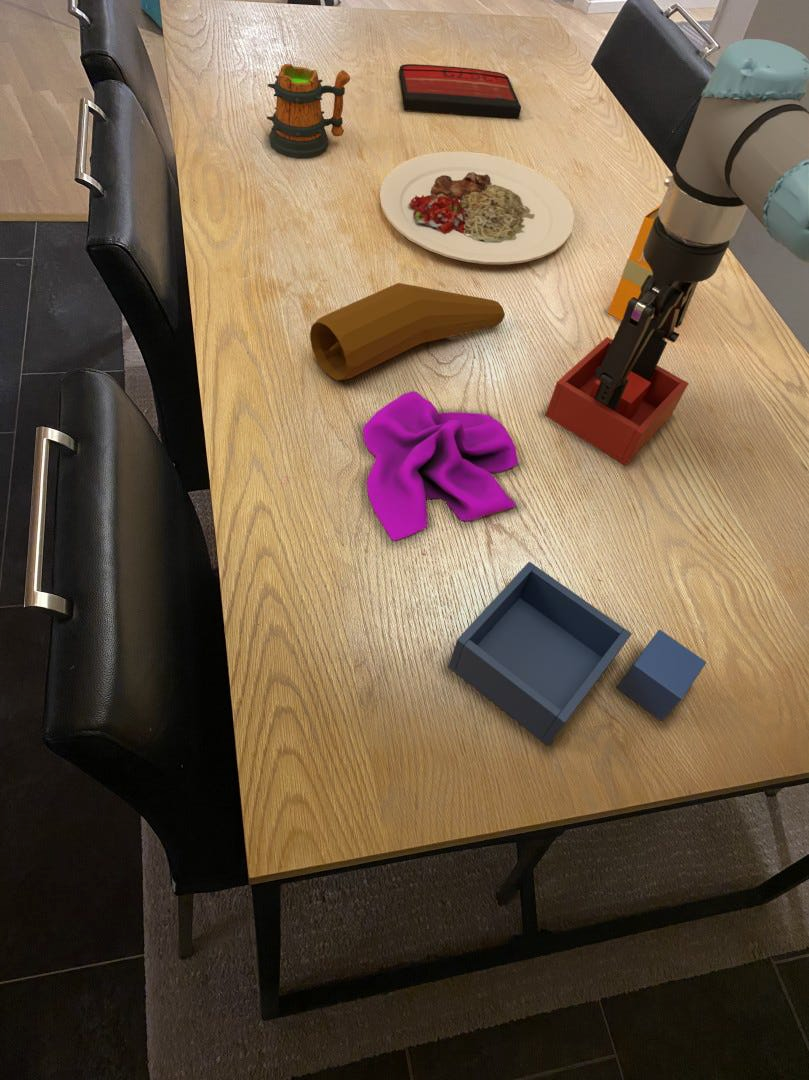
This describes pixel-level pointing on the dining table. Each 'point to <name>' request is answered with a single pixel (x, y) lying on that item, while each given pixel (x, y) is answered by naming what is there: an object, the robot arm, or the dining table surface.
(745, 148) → the robot arm
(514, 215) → the plated food
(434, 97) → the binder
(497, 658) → the blue bin
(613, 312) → the orange juice
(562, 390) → the red bin
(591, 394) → the red block
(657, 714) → the blue block
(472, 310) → the horn
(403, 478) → the cloth
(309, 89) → the mug
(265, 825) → the dining table surface
